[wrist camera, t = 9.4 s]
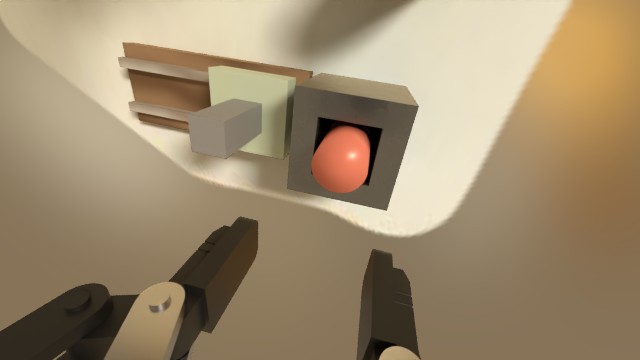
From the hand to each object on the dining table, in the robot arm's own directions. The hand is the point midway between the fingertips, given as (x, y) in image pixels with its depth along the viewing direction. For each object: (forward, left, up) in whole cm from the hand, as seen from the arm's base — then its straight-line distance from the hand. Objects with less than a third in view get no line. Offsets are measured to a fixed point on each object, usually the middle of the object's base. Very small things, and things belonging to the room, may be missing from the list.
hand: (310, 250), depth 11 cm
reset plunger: (0, 0, -14) cm, 14 cm away
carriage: (0, -10, -19) cm, 21 cm away
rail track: (0, -17, -21) cm, 27 cm away
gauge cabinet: (0, 0, -21) cm, 21 cm away
